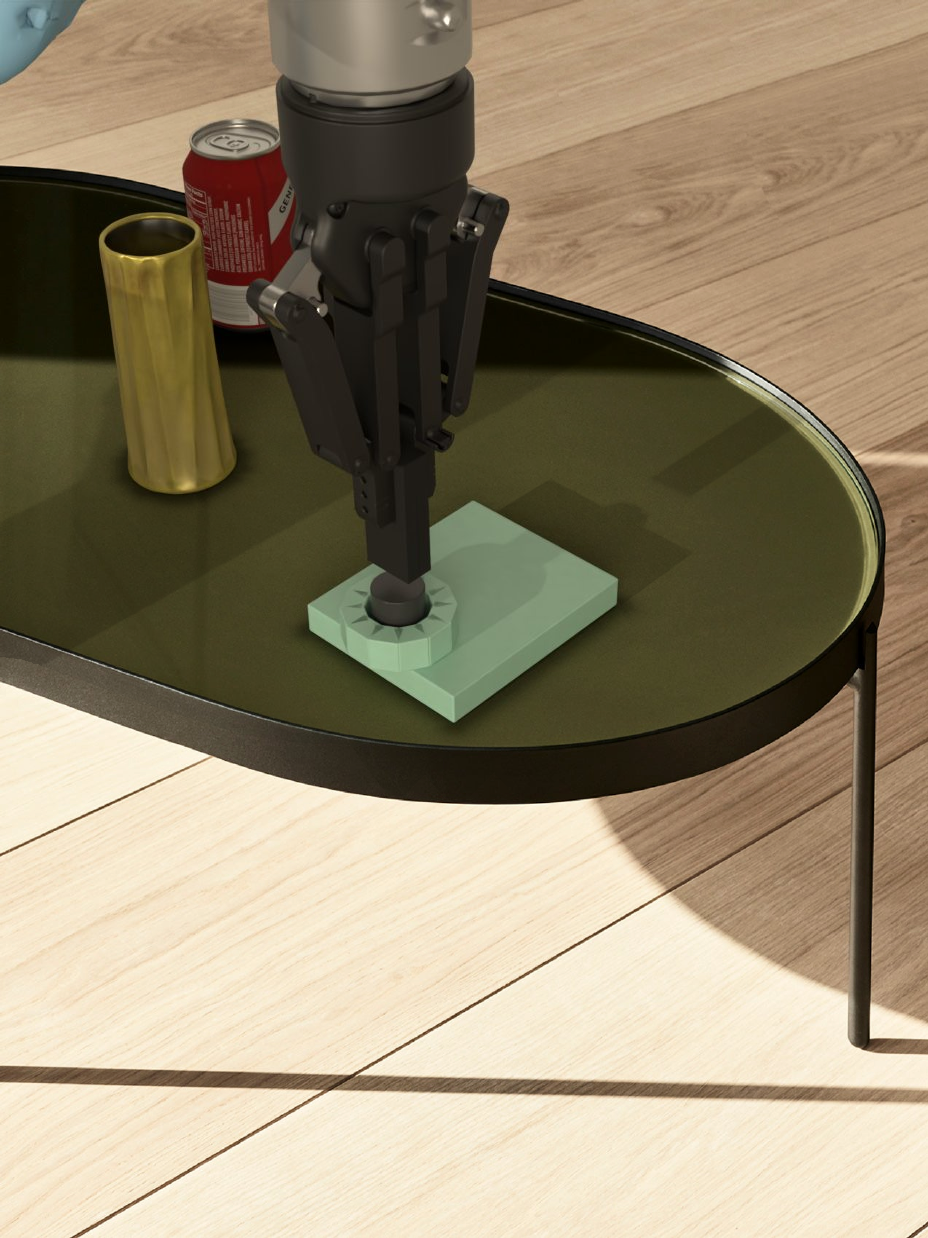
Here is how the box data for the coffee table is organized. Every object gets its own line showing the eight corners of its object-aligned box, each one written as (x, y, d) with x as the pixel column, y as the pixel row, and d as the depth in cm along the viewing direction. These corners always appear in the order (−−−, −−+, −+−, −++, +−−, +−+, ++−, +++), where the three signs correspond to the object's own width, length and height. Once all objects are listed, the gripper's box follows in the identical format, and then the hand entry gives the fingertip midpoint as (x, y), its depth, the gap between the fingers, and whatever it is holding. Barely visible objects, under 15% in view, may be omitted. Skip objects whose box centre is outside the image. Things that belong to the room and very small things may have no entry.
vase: (231, 495, 93) (202, 261, 84) (120, 497, 93) (79, 263, 84) (242, 434, 97) (216, 206, 88) (136, 435, 97) (99, 208, 88)
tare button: (398, 636, 79) (397, 610, 78) (360, 612, 80) (358, 586, 79) (437, 610, 80) (436, 584, 79) (398, 587, 81) (397, 561, 80)
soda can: (262, 351, 105) (244, 170, 97) (178, 322, 107) (155, 144, 100) (326, 305, 109) (314, 128, 101) (244, 279, 112) (226, 105, 104)
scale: (435, 737, 78) (433, 681, 75) (290, 642, 83) (284, 587, 81) (617, 604, 85) (620, 549, 83) (473, 525, 90) (472, 471, 88)
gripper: (314, 152, 57) (353, 669, 73) (563, 44, 65) (552, 535, 80) (175, 94, 61) (239, 596, 77) (424, -2, 69) (438, 474, 84)
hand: (399, 564), depth 78 cm, fingers closed
